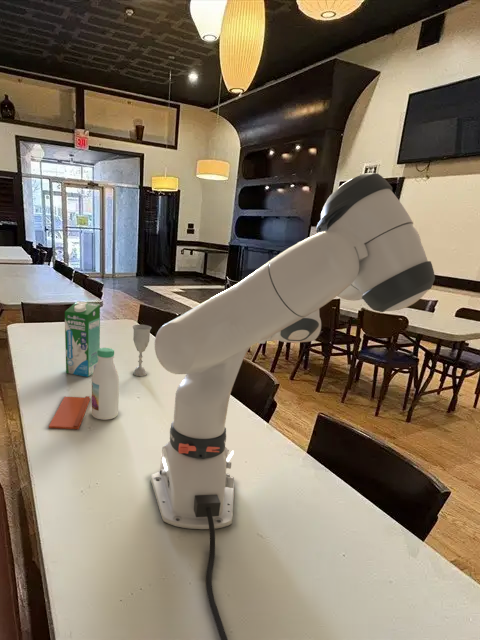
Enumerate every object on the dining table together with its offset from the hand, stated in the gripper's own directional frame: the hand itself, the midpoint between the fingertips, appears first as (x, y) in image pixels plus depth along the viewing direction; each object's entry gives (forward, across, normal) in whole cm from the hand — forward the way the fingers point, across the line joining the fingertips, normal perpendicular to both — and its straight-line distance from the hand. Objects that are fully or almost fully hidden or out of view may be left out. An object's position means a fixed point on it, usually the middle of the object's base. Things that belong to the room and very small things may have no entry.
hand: (208, 320), depth 112 cm
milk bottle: (+28, 0, +30) cm, 41 cm away
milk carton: (+40, -35, +30) cm, 61 cm away
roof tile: (+38, 0, +30) cm, 48 cm away
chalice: (+19, -36, +30) cm, 51 cm away
